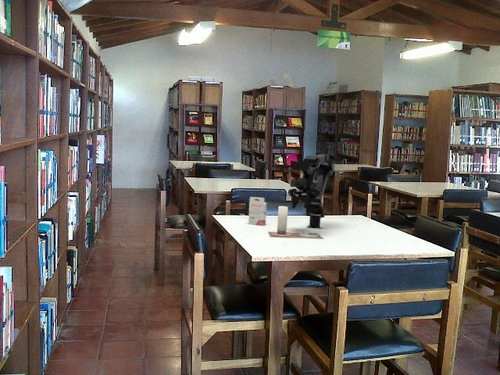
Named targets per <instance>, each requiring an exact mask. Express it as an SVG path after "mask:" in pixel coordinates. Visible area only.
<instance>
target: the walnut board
mask: <svg viewBox="0 0 500 375" xmlns="http://www.w3.org/2000/svg"><path fill="white" fill-rule="evenodd" d="M274 232H275V231H267V233H268V235H269V237H270V238H284V239H287V238H289V239H314V240H315V239H317V240H324V237H322V236H321V235H320V234H319V233H318V232H317V233H316V232H312V233H313V234H317V235H318V237H314V238H310V237H302V236H299V234H300V233H301V232H291V231H289V232H287V231H286V233H290V234H291V236H288V237H280V236H274V235H272V233H274Z"/></svg>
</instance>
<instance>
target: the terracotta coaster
mask: <svg viewBox="0 0 500 375" xmlns="http://www.w3.org/2000/svg"><path fill="white" fill-rule="evenodd" d="M273 232H274V233H272V235H274V236H280V237H288V236H291V234H290V233H286V235H279V234H277V231H273Z"/></svg>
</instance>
